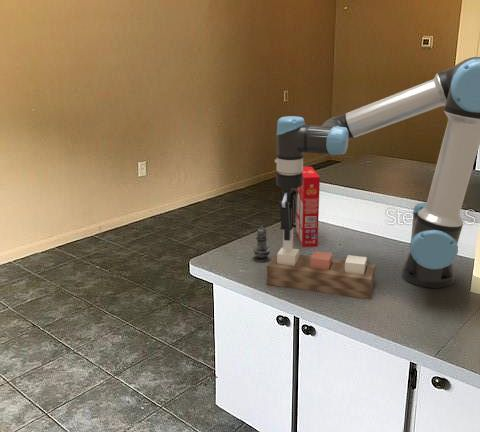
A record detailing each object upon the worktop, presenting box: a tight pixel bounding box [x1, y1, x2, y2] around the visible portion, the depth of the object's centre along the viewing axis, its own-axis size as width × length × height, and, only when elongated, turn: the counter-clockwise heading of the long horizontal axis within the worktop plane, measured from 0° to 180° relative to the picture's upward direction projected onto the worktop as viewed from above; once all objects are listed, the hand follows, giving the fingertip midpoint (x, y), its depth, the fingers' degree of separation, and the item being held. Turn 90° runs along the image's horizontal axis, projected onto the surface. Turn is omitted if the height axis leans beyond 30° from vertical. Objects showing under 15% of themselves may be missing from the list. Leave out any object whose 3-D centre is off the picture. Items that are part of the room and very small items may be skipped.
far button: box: [276, 246, 300, 266], centre depth 161 cm, size 5×5×4 cm
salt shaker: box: [252, 224, 271, 263], centre depth 175 cm, size 6×6×12 cm
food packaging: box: [295, 166, 321, 248], centre depth 190 cm, size 15×5×25 cm, turn 3°
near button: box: [345, 254, 368, 275], centre depth 154 cm, size 5×5×4 cm
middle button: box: [310, 250, 333, 270], centre depth 157 cm, size 5×5×4 cm
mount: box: [266, 251, 376, 300], centre depth 159 cm, size 30×11×6 cm, turn 71°
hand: (287, 248), depth 160 cm, fingers closed
